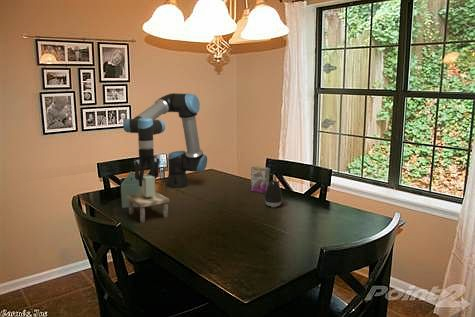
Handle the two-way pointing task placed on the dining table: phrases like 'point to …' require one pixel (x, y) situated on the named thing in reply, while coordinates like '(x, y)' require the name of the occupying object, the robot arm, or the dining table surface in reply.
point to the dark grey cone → (273, 194)
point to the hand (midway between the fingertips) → (147, 191)
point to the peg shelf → (147, 204)
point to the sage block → (148, 185)
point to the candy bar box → (259, 178)
